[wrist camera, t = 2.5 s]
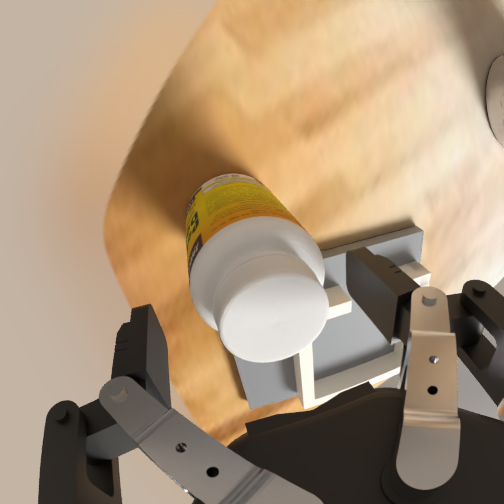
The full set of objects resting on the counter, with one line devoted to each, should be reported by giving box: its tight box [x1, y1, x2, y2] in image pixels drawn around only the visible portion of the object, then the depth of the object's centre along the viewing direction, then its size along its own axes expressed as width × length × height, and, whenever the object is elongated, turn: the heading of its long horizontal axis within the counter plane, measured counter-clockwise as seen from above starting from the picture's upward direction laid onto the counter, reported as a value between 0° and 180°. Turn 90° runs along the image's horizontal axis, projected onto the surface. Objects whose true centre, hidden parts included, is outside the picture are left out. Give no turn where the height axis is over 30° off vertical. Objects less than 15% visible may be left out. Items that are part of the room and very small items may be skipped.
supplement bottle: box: [185, 174, 329, 363], centre depth 15 cm, size 6×6×10 cm
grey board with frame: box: [233, 226, 431, 409], centre depth 24 cm, size 16×14×3 cm
